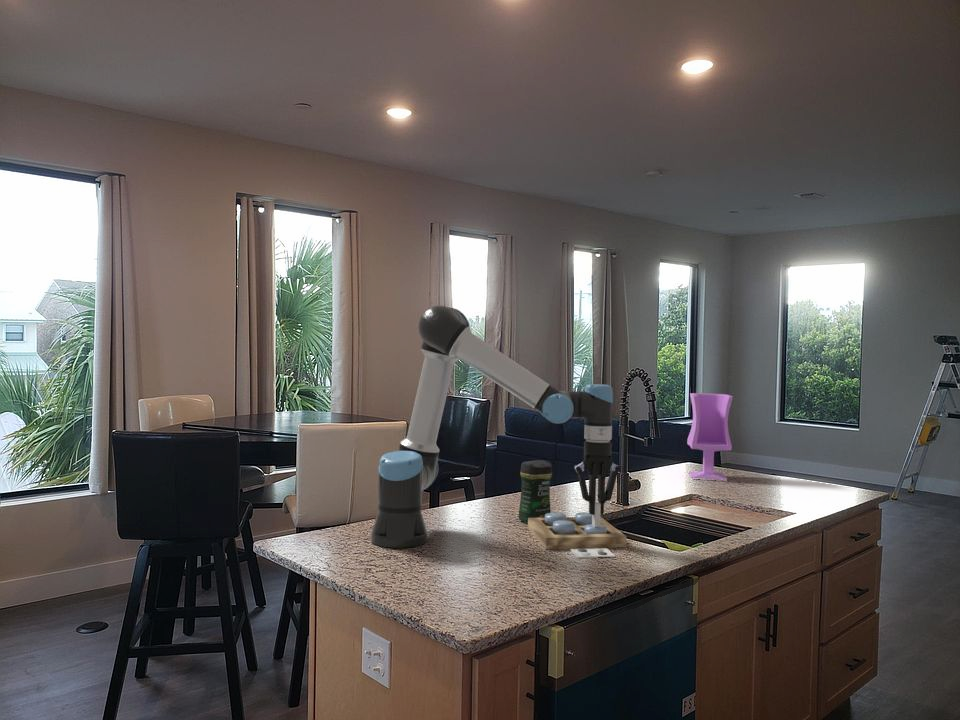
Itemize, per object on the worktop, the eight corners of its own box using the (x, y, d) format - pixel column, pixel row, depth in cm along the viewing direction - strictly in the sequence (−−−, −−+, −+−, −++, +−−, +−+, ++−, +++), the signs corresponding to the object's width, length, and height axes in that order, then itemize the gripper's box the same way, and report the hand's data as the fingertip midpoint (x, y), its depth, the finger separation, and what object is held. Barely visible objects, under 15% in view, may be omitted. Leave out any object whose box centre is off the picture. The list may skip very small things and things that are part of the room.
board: (546, 549, 188) (546, 537, 188) (527, 528, 210) (528, 517, 210) (626, 547, 192) (626, 536, 192) (600, 526, 213) (600, 516, 213)
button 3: (578, 526, 203) (578, 517, 203) (572, 521, 209) (572, 512, 208) (599, 525, 204) (599, 517, 203) (592, 520, 209) (592, 512, 209)
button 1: (547, 526, 201) (547, 517, 201) (542, 521, 207) (542, 512, 207) (568, 526, 202) (568, 517, 202) (562, 521, 208) (562, 512, 208)
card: (577, 558, 181) (577, 556, 181) (569, 550, 188) (569, 548, 188) (615, 557, 182) (615, 555, 182) (606, 549, 189) (606, 547, 189)
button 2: (555, 535, 192) (556, 526, 192) (550, 529, 198) (550, 520, 198) (577, 534, 193) (577, 525, 193) (571, 529, 199) (571, 520, 199)
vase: (690, 480, 294) (693, 395, 294) (686, 473, 310) (688, 392, 309) (730, 482, 292) (733, 396, 291) (724, 475, 307) (726, 394, 306)
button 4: (588, 539, 194) (588, 529, 194) (581, 533, 200) (581, 524, 200) (609, 538, 195) (609, 529, 195) (602, 532, 201) (602, 524, 201)
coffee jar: (531, 526, 213) (533, 463, 212) (514, 520, 219) (515, 460, 219) (555, 521, 218) (557, 461, 218) (538, 516, 225) (539, 457, 224)
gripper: (578, 442, 192) (577, 530, 192) (625, 442, 194) (623, 529, 194) (571, 438, 199) (569, 523, 200) (616, 438, 201) (614, 522, 202)
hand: (596, 526), depth 197 cm, fingers closed
